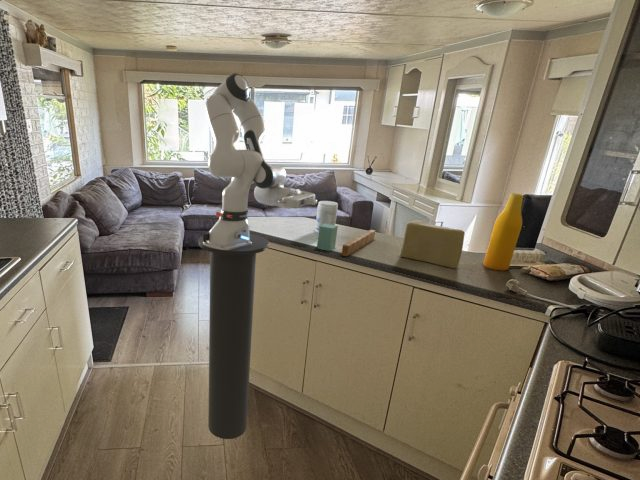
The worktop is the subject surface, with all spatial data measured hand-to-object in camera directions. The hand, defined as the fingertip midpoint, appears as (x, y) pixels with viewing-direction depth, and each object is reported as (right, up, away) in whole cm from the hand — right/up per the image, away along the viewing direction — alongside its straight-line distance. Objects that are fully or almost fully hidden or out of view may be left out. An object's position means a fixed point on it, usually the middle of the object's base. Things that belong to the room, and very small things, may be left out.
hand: (315, 202), depth 185 cm
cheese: (+46, -26, -8) cm, 53 cm away
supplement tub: (+9, -8, +29) cm, 31 cm away
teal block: (+5, -19, +4) cm, 20 cm away
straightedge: (+20, -18, +7) cm, 28 cm away
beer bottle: (+71, -29, -11) cm, 77 cm away
